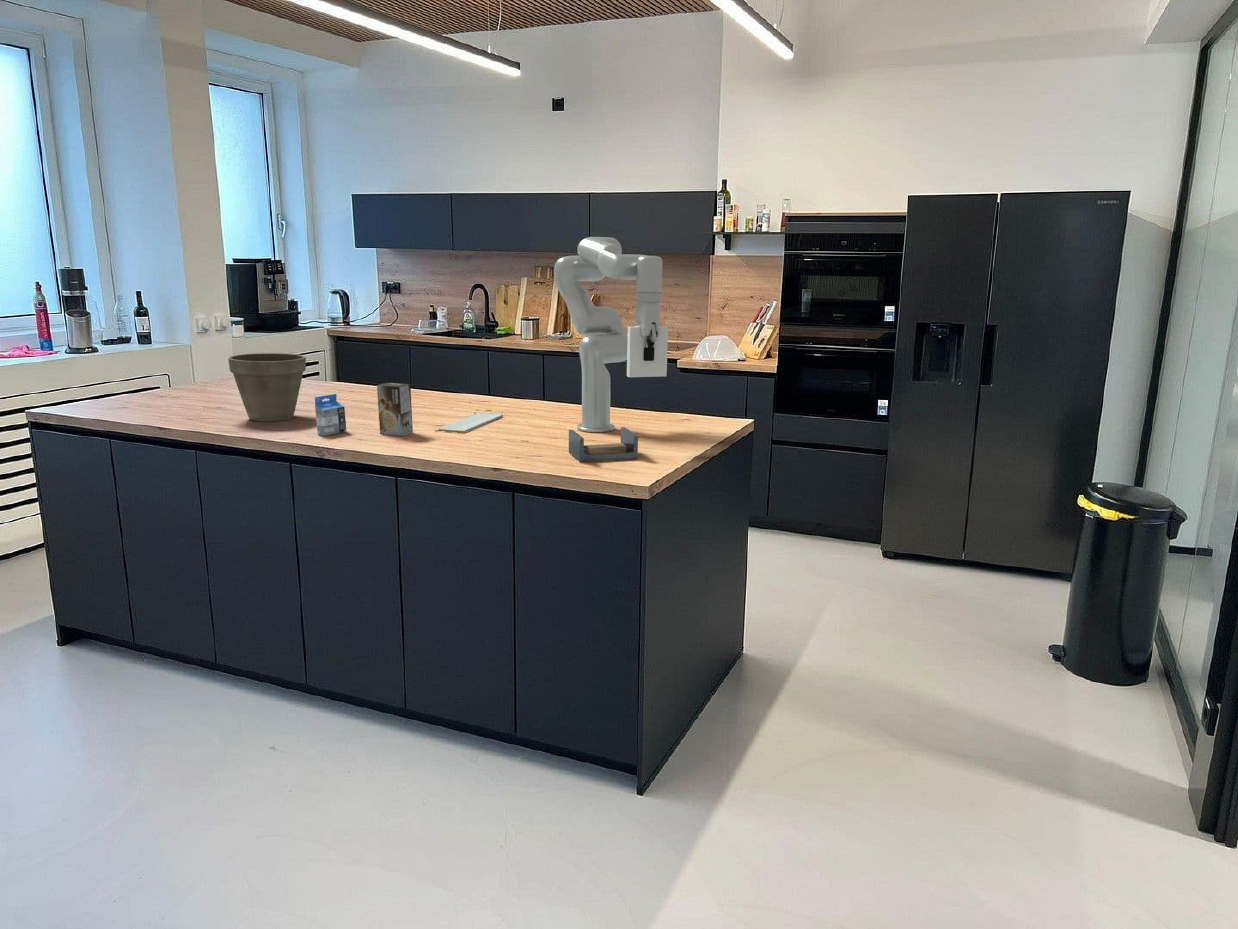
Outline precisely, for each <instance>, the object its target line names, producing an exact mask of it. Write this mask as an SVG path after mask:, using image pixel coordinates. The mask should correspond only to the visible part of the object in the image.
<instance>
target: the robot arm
mask: <svg viewBox="0 0 1238 929" xmlns="http://www.w3.org/2000/svg"><path fill="white" fill-rule="evenodd" d="M577 254H578V255H568V256H567V255H566V256H563V257H561V258H558V259H557V261H556V262H555V264H554V267H553V277H554V282H555V286H556V288H557V290H558V292H559V294H560V296H561V297H562V299H563V300H564V302H565V305H566V307H567V311H568V313H569V316H570V318H571V321H572V324H573V326H574V328H575V330H576V332H577V333H578V335H580V336H584V337H583V338H581V340H580V342H579V345H578V354H579V359H580V364H581V365H580V366H581V423H578V424H577V427H576V428H577V430H578V431H581V432H588V433H606V432H612V431H614V430H615V428H616V427H615V424H614V423H613V424H612V423H611V375H610V372H609V370H608V368H607V367H606V366H605V364H610V363H611V364H612V363H614V364H615V363H622V362H625V361H627V345H628V334H627V332H626V330H625V327H624V323H623V322H622V319H621V316H620V315H619V313H618V311H616V309H614V308H613V307H611V306H597V305H594V302H593V301H592V297H591V295H590V294H589V292H588V291H587V290H586V289H585V287H583V286H582V285H581V284H580V283H579V282H599V281H601V280H603V279H604V278H605V277H606V278H609V279H611V280H615V281H616V280H617V281H636V289H635V291H636V294H635V295H636V296H635V298H636V299H635V304H636V309H635V317H634V318H635V321H634V326H638V327H641V328H640V336H641V337H645V347H644V361H654V347H655V342H656V340H657V338H656V337H658V336H659V330H660V326H661V324H660V322H661V319H660V318H661V315H660V305H661V304H662V295H663V294H662V291H663V289H662V288H663V259H662V257H660V256H658V255H657V256H656V255H647V254H633V253H632V254H630V253H629V254H626V253H625V254H623V250H622V245H621V243H620V241H618V240H617V239H616V238H615V237H610V236H609V237H607V236H604V237H603V236H589V237H585V238H583V239H582V240H581V241H580V242H579V243H578V245H577ZM648 335H651V337H648ZM648 339H649V340H648Z"/></svg>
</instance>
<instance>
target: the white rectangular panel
mask: <svg viewBox="0 0 1238 929" xmlns="http://www.w3.org/2000/svg"><path fill="white" fill-rule="evenodd" d="M640 328H641V327H638V326H635V325H634V326H627V337H628V345H627V360H626V377H628V378H650V377H653V378H656V377H657V378H659V377H661V378H662V377H667V372H668V369H667V368H668V348H669V347H668V345H669V344H668V342H669V340H668V339H669V326H666V325H663V326H662V325H660V330H659V336H658V337H656V338H657V340H656V342H655V347H654V361H644V347H645V337H641V336H640ZM648 337H651V335H648ZM648 340H649V339H648Z"/></svg>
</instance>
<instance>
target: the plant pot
mask: <svg viewBox="0 0 1238 929" xmlns="http://www.w3.org/2000/svg"><path fill="white" fill-rule="evenodd" d="M227 360H228V367H229V371H230V372H231V373H232V374H233V378H234V380H235V384H236V386H237V390H238V392H239V395H240V399H241V400H242V403H243V406H244V409H245V412H246V415H247V416H248V419H250V420H251V421H254V422H267V423H268V422H280V421H287V420H290V419H293V417H294V416H295V412H296V407H297V404H298V398H299V394H300V388H301V384H302V380H303V374H304V372H305V371H306V370H307V369H306V368H307V364H306V363H307V358H306V356H305V355H303V354H298V353H297V354H296V353H279V352H271V353H270V352H268V353H267V352H265V353H264V352H261V353H259V352H257V353H243V354H242V353H241V354H235V355H230V356H228V359H227Z"/></svg>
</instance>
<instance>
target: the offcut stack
mask: <svg viewBox="0 0 1238 929" xmlns="http://www.w3.org/2000/svg"><path fill="white" fill-rule="evenodd" d="M585 445H586V452H584V455H591V454H608V453H625V452H626V446H625V445H624V444H623V443H621V442H618V443H616V442H615V443H602V444H601V443H600V444H585Z"/></svg>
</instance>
